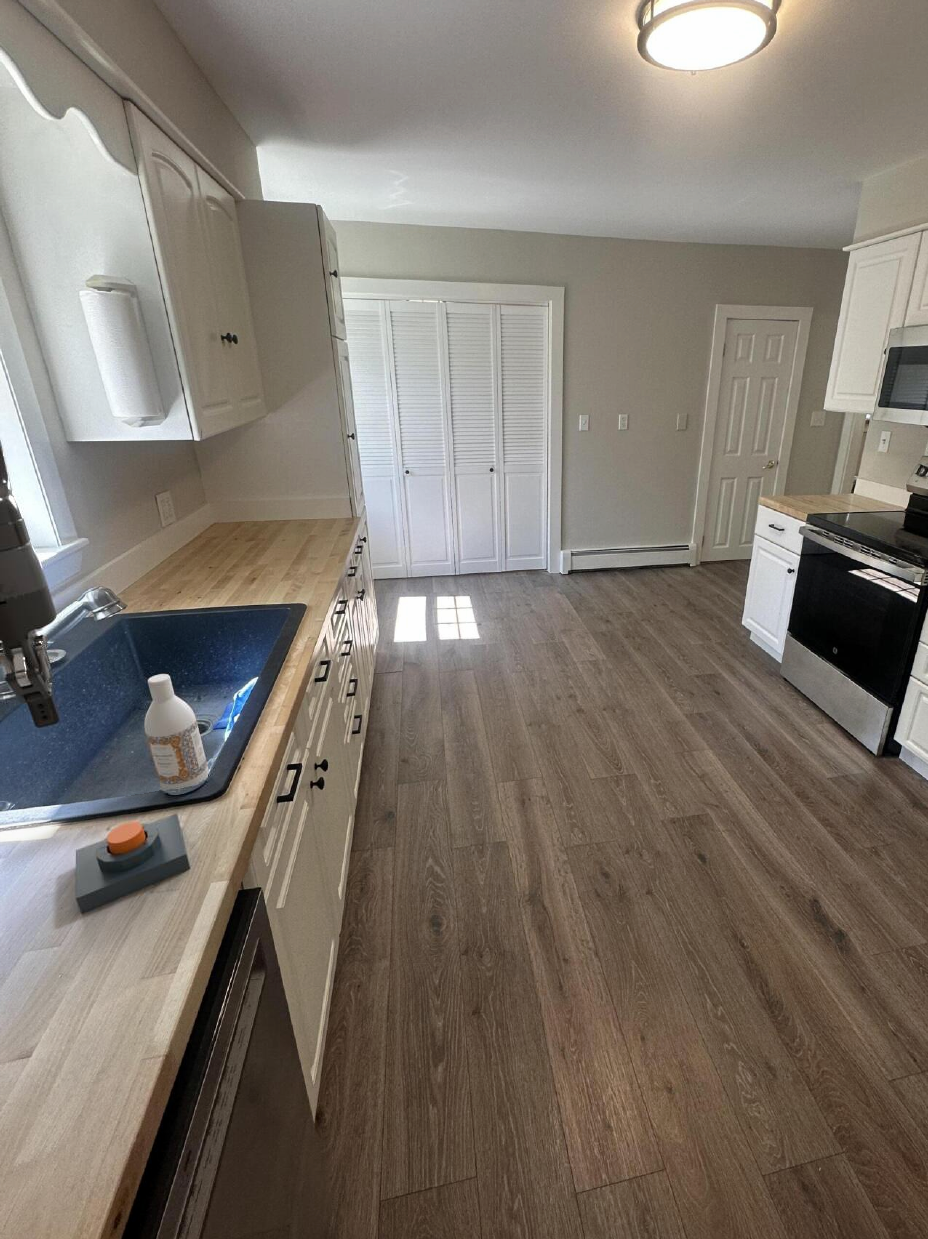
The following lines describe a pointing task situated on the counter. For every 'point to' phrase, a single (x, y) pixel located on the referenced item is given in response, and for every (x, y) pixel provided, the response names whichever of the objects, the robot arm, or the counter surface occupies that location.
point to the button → (126, 838)
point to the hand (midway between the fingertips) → (48, 723)
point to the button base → (129, 865)
